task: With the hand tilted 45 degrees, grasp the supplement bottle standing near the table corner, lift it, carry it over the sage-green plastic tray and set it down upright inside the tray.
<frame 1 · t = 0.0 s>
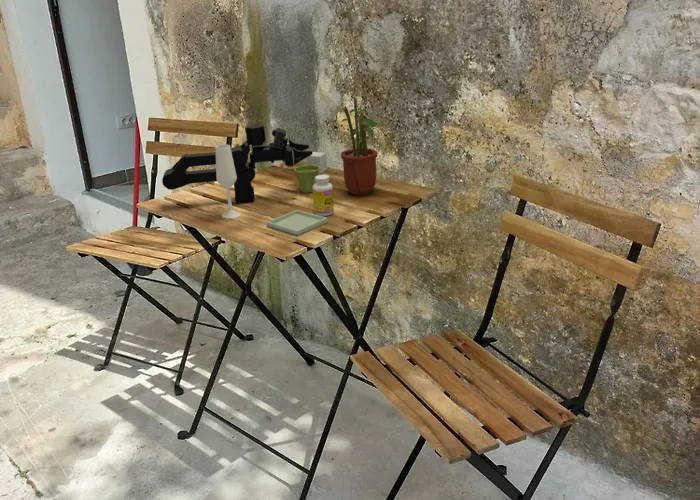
hand: (310, 149, 234), 17 cm above the table, tool horizontal, fingers open, 9 cm apart
supplement bottle: (324, 213, 221), on the table
champagne flute: (231, 215, 224), on the table
potted plant: (359, 191, 242), on the table
tray: (297, 224, 213), on the table
product box: (317, 171, 267), on the table
plant pot: (308, 191, 245), on the table
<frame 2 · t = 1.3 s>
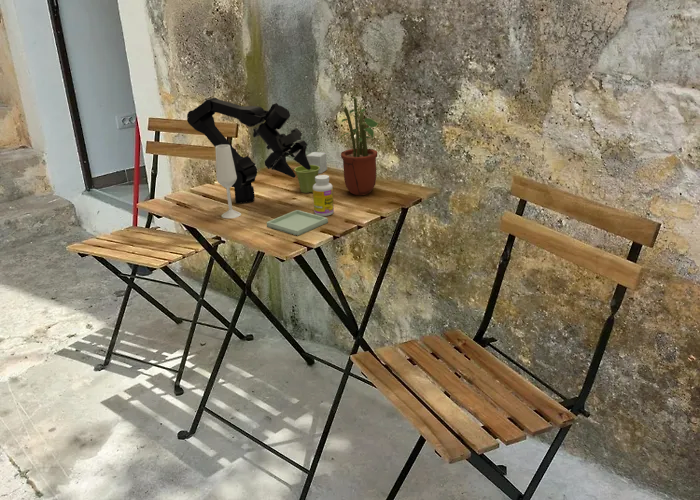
hand: (302, 173, 220), 13 cm above the table, tool tilted 45°, fingers open, 9 cm apart
nothing on the table moved.
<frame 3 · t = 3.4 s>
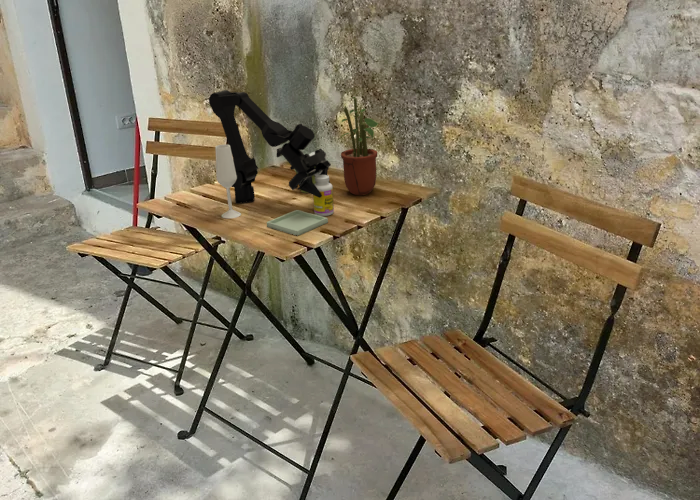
hand: (326, 193, 218), 7 cm above the table, tool tilted 45°, fingers closed on supplement bottle, 7 cm apart
supplement bottle: (324, 213, 221), on the table, touching gripper
everything else where it was.
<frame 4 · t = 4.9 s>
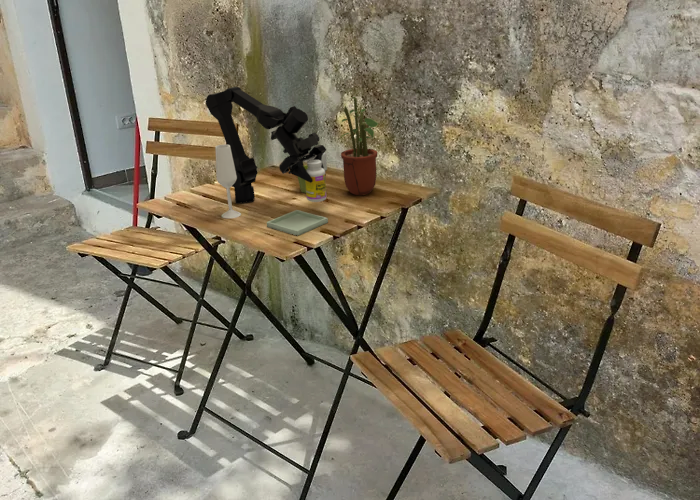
hand: (318, 179, 213), 13 cm above the table, tool tilted 45°, fingers closed on supplement bottle, 7 cm apart
supplement bottle: (316, 199, 216), point 6 cm above the table, touching gripper
everything else where it was.
when the fingers open (9 cm above the table, at t = 6.8 s): supplement bottle stays where it is, resting on tray.
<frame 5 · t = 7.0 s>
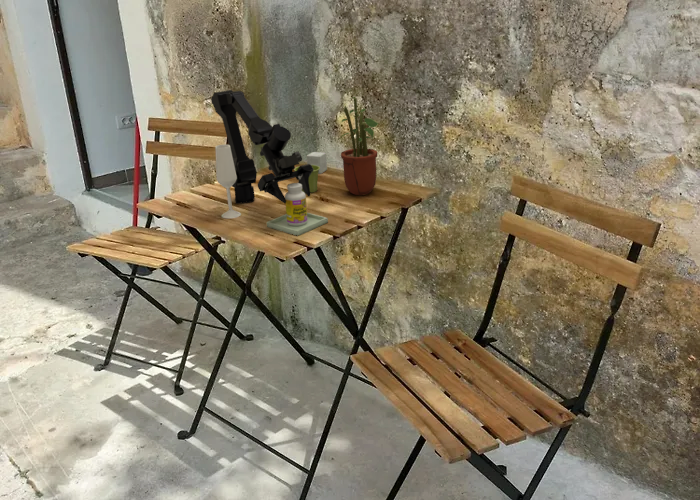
hand: (297, 199, 208), 9 cm above the table, tool tilted 45°, fingers open, 9 cm apart
supplement bottle: (297, 223, 213), resting on tray
everything else where it was.
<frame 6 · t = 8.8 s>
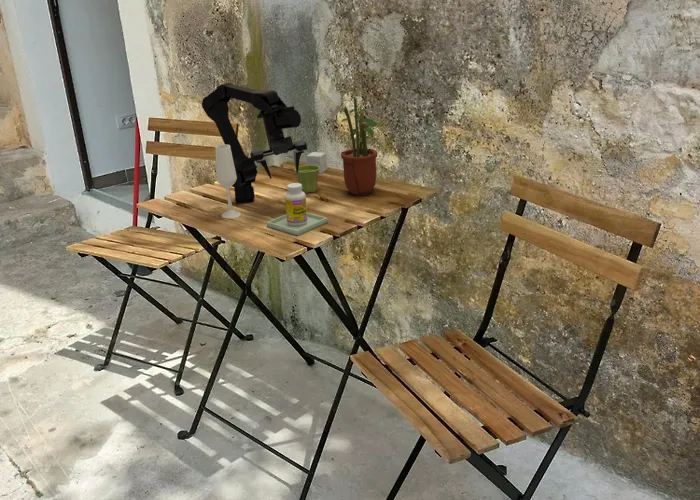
hand: (284, 175, 222), 12 cm above the table, tool pointing down, fingers open, 9 cm apart
nothing on the table moved.
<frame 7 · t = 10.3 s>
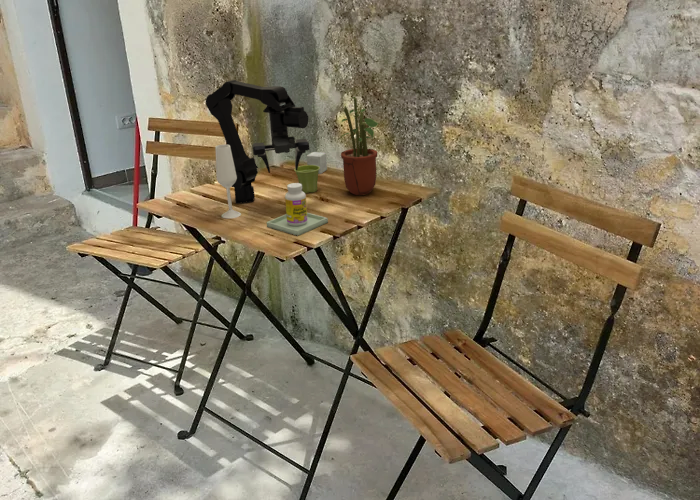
hand: (282, 171, 223), 13 cm above the table, tool pointing down, fingers open, 9 cm apart
nothing on the table moved.
at the end: supplement bottle inside the target area on the tray (0.2 cm from its centre), point 0.3 cm above the tray's base; supplement bottle tilted 0°; the gripper is holding nothing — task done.
